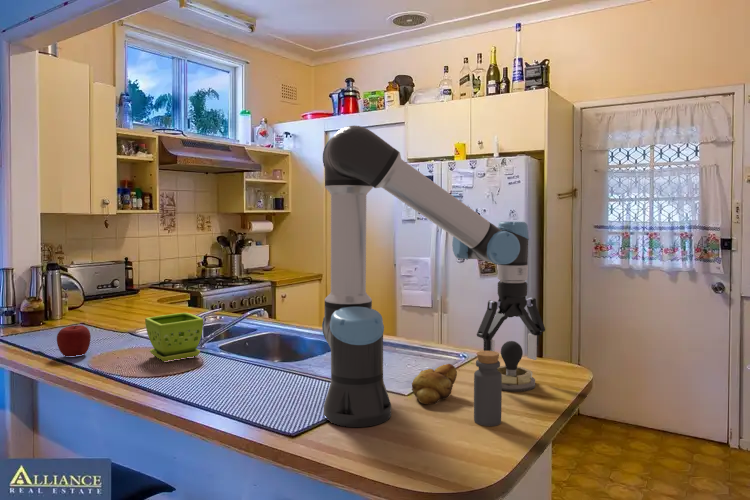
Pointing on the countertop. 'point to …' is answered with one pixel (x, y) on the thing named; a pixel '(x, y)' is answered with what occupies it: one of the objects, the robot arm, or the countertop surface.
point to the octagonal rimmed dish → (517, 380)
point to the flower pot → (174, 335)
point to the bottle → (487, 389)
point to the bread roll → (434, 384)
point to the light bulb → (511, 356)
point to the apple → (73, 340)
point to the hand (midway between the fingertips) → (511, 361)
